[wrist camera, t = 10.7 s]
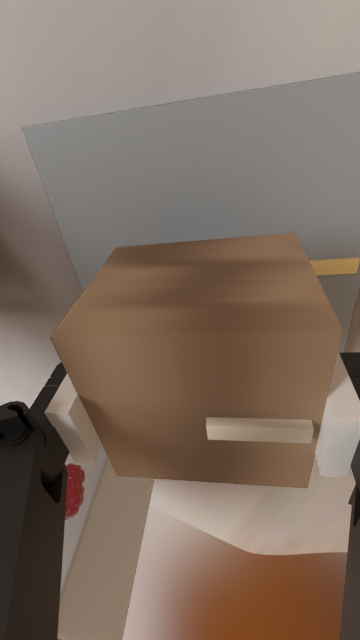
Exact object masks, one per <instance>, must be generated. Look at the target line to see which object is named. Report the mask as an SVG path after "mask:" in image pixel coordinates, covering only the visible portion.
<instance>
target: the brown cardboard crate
mask: <svg viewBox="0 0 360 640" xmlns="http://www.w3.org/2000/svg"><path fill="white" fill-rule="evenodd" d="M342 332H343V329H342V327H341V325H340V323H339V321H338V319H337V317H336V315H335V313H334V310H333V308H332V306H331V304H330V302H329V300H328V298H327V296H326V294H325V292H324V290H323V288H322V286H321V284H320V282H319V280H318V278H317V276H316V274H315V272H314V270H313V268H312V266H311V264H310V262H309V260H308V258H307V255H306V253H305V251H304V249H303V247H302V245H301V243H300V241H299V239H298V237H297V235H296V233H286V234H274V235H261V236H249V237H236V238H223V239H211V240H198V241H185V242H173V243H160V244H148V245H135V246H122V247H116V248H115V249H114V251H113V252H112V253H111V255H110V256H109V257H108V259H107V260H106V261H105V263H104V264H103V265H102V267H101V268H100V270H99V271H98V272H97V274H96V275H95V276H94V278H93V279H92V280H91V282H90V283H89V284H88V286H87V287H86V288H85V290H84V291H83V292H82V294H81V295H80V296H79V298H78V299H77V301H76V302H75V303H74V305H73V306H72V307H71V309H70V310H69V311H68V313H67V314H66V315H65V317H64V318H63V319H62V321H61V322H60V323H59V325H58V326H57V328H56V329H55V330H54V332H53V333H52V334H51V336H50V339H51V341H52V343H53V345H54V347H55V349H56V351H57V353H58V355H59V357H60V359H61V361H62V363H63V366H64V368H65V370H66V372H67V374H68V376H69V378H70V380H71V382H72V384H73V386H74V388H75V390H76V392H77V394H78V396H79V398H80V400H81V402H82V404H83V406H84V408H85V410H86V412H87V414H88V416H89V418H90V420H91V422H92V425H93V427H94V429H95V431H96V433H97V435H98V437H99V439H100V441H101V443H102V446H103V448H104V450H105V452H106V454H107V456H108V458H109V460H110V462H111V464H112V466H113V468H114V470H115V472H116V474H117V476H123V477H139V478H154V479H170V480H186V481H201V482H217V483H233V484H248V485H264V486H280V487H295V488H308V483H309V479H310V474H311V470H312V465H313V461H314V457H315V450H316V446H317V441H318V437H319V432H320V428H321V424H322V419H323V415H324V410H325V406H326V401H327V397H328V394H329V390H330V385H331V381H332V377H333V372H334V368H335V363H336V359H337V354H338V350H339V345H340V341H341V337H342Z"/></svg>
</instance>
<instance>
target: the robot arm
mask: <svg viewBox="0 0 360 640" xmlns="http://www.w3.org/2000/svg"><path fill="white" fill-rule="evenodd" d="M101 446H102V443H101V441H100V439H99V437H98V435H97V433H96V431H95V429H94V427H93V425H92V422H91V420H90V418H89V416H88V414H87V412H86V410H85V408H84V406H83V404H82V402H81V400H80V398H79V396H78V394H77V392H76V390H75V388H74V386H73V384H72V382H71V380H70V378H69V376H68V374H67V372H66V370H65V368H64V366H63V363H62V362H61V363H60V364H58V365H57V367H56V368H55V370H54V371H53V373H52V374H51V378H49V379H48V381H47V382H46V384H45V387H43V389H42V390H41V392H40V393H39V395H38V397H37V398H36V400H35V401H34V403H33V405H32V406H31V408H30V409H29V408H28V407H27V406H26V405H25V403H23V402H19V401H15V402H9V403H6V404H4V405H1V406H0V640H57V637H58V621H59V605H60V589H61V574H62V558H63V542H64V526H65V511H66V495H67V479H68V471H67V466H66V465H65V462H66V459H67V457H68V455H69V453H70V455H71V457H72V458H73V460H74V462H81V463H95V462H96V460H97V457H98V454H99V451H100V449H101ZM315 456H316V461H317V465H318V469H319V473H320V476H329V477H348V475H349V472H350V469H352V472H353V475H354V478H355V481H356V485H355V487H354V490H353V492H352V495H351V497H350V500H349V503H348V504H351V505H352V511H351V522H350V533H349V543H348V555H347V565H346V576H345V587H344V598H343V609H342V619H341V631H340V640H360V353H339V352H338V354H337V359H336V363H335V368H334V372H333V377H332V381H331V385H330V390H329V394H328V397H327V401H326V406H325V410H324V415H323V419H322V424H321V428H320V432H319V437H318V441H317V446H316V450H315Z"/></svg>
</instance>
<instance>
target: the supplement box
mask: <svg viewBox="0 0 360 640" xmlns="http://www.w3.org/2000/svg"><path fill="white" fill-rule="evenodd" d="M65 465H66V466H67V471H68V479H67V495H66V511H65V526H64V542H63V558H62V574H61V589H60V605H59V621H58V637H57V640H122V638H123V634H124V629H125V623H126V618H127V613H128V608H129V603H130V598H131V593H132V588H133V583H134V578H135V573H136V568H137V563H138V558H139V553H140V548H141V543H142V538H143V533H144V528H145V523H146V518H147V513H148V509H149V504H150V499H151V493H152V488H153V483H154V478H139V477H123V476H117V474H116V472H115V470H114V468H113V466H112V464H111V462H110V460H109V458H108V456H107V454H106V452H105V450H104V448H103V446H101V449H100V451H99V454H98V457H97V460H96V462H95V463H81V462H74V460H73V458H72V457H71V455H70V453H69V455H68V457H67V459H66V462H65Z"/></svg>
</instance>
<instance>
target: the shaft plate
mask: <svg viewBox="0 0 360 640" xmlns="http://www.w3.org/2000/svg"><path fill="white" fill-rule="evenodd" d="M22 130H23V133H24V135H25V138H26V141H27V144H28V146H29V149H30V152H31V154H32V157H33V160H34V162H35V165H36V168H37V170H38V173H39V176H40V178H41V181H42V184H43V187H44V189H45V192H46V195H47V197H48V200H49V203H50V205H51V208H52V211H53V213H54V216H55V219H56V221H57V224H58V227H59V230H60V232H61V235H62V238H63V240H64V243H65V246H66V248H67V251H68V254H69V256H70V259H71V262H72V264H73V267H74V270H75V273H76V275H77V278H78V281H79V283H80V286H81V289H82V291H84V290H85V288H86V287H87V286H88V284H89V283H90V282H91V280H92V279H93V278H94V276H95V275H96V274H97V272H98V271H99V270H100V268H101V267H102V265H103V264H104V263H105V261H106V260H107V259H108V257H109V256H110V255H111V253H112V252H113V251H114V249H115V248H116V247H122V246H135V245H148V244H160V243H173V242H185V241H198V240H211V239H223V238H236V237H249V236H261V235H274V234H286V233H296V235H297V237H298V239H299V241H300V243H301V245H302V247H303V249H304V251H305V253H306V255H307V258H308V260H309V262H310V264H311V266H312V268H313V270H314V272H315V274H316V276H317V278H318V280H319V282H320V284H321V286H322V288H323V290H324V292H325V294H326V296H327V298H328V300H329V302H330V304H331V306H332V308H333V310H334V313H335V315H336V317H337V319H338V321H339V323H340V325H341V327H342V329H343V332H342V337H341V341H340V345H339V350H338V352H339V353H344V350H345V346H346V342H347V338H348V334H349V330H350V325H351V321H352V317H353V313H354V309H355V305H356V301H357V297H358V293H359V289H360V72H358V73H352V74H346V75H340V76H333V77H327V78H321V79H315V80H309V81H303V82H297V83H291V84H285V85H278V86H272V87H266V88H260V89H254V90H248V91H242V92H236V93H230V94H224V95H217V96H211V97H205V98H199V99H193V100H187V101H181V102H175V103H169V104H162V105H156V106H150V107H144V108H138V109H132V110H126V111H120V112H114V113H107V114H101V115H95V116H89V117H83V118H77V119H71V120H65V121H59V122H53V123H46V124H40V125H34V126H29V127H23V128H22Z"/></svg>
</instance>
